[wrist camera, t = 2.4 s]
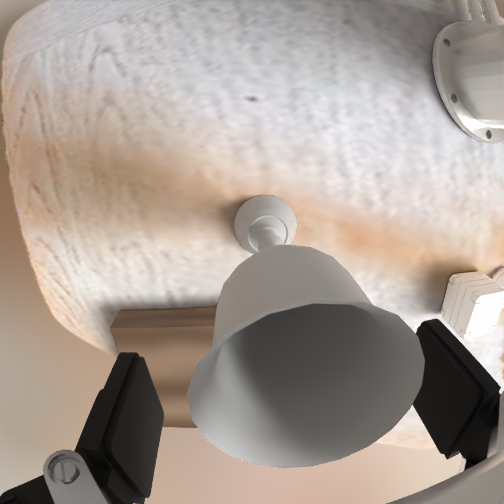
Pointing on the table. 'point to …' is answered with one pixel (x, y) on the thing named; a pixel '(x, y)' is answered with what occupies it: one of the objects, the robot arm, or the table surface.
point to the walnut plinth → (168, 351)
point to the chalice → (299, 354)
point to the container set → (473, 302)
